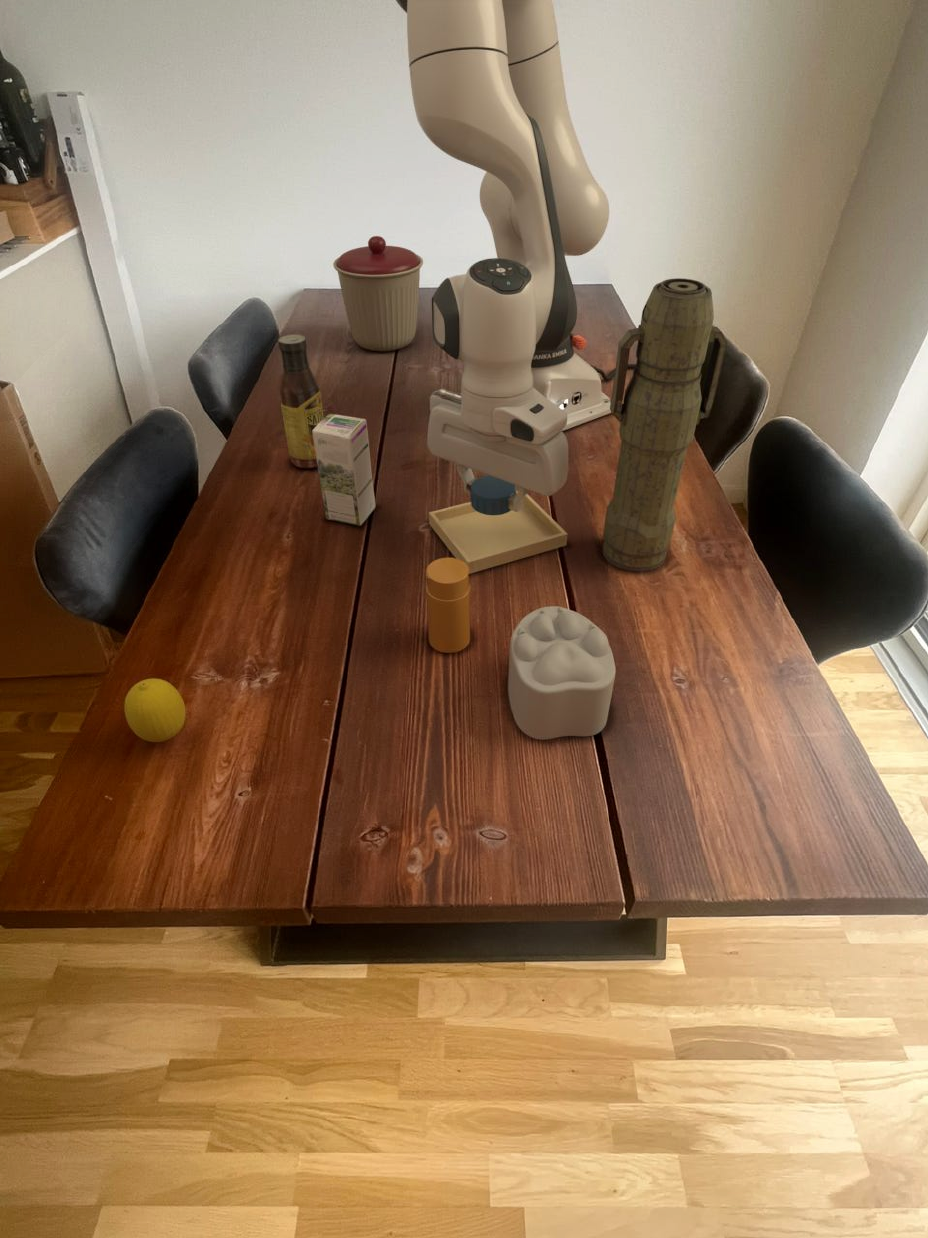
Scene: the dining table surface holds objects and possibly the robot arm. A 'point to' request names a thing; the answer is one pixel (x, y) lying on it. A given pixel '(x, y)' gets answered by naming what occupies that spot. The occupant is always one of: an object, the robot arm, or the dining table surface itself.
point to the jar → (448, 604)
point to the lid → (491, 495)
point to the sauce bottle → (299, 401)
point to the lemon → (154, 710)
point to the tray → (496, 534)
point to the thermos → (659, 418)
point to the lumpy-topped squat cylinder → (559, 674)
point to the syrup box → (344, 468)
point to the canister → (380, 294)
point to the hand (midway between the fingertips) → (493, 500)
